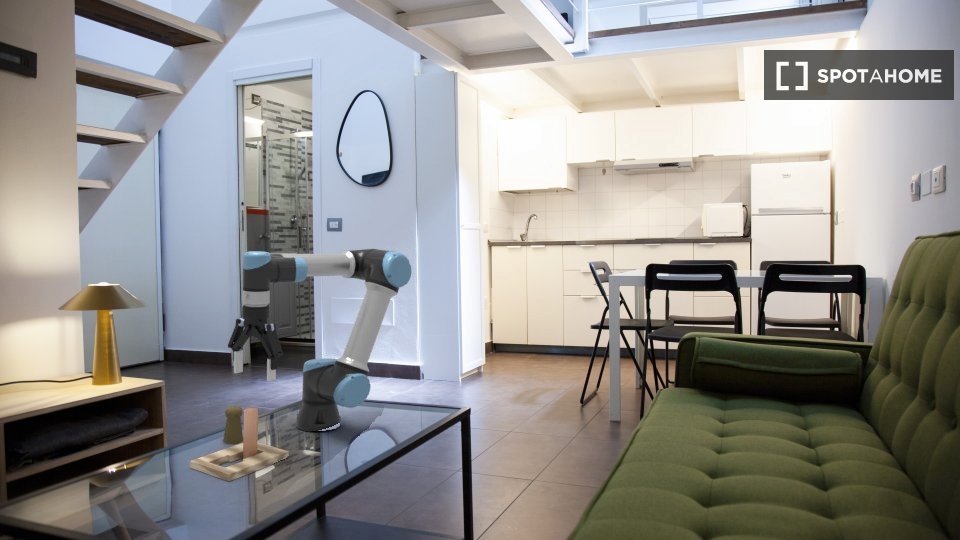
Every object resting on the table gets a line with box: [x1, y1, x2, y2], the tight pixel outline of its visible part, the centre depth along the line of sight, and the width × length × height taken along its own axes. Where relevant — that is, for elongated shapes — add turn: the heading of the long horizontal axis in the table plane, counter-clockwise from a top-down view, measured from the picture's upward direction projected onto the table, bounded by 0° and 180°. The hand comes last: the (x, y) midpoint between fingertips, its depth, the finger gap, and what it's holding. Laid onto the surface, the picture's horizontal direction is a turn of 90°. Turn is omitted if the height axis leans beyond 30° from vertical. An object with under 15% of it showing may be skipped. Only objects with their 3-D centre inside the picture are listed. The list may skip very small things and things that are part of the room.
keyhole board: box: [189, 441, 290, 482], centre depth 199 cm, size 22×16×2 cm
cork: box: [222, 405, 244, 445], centre depth 216 cm, size 6×6×11 cm
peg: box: [242, 407, 259, 460], centre depth 201 cm, size 4×4×15 cm
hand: (254, 376), depth 200 cm, fingers open, 13 cm apart
